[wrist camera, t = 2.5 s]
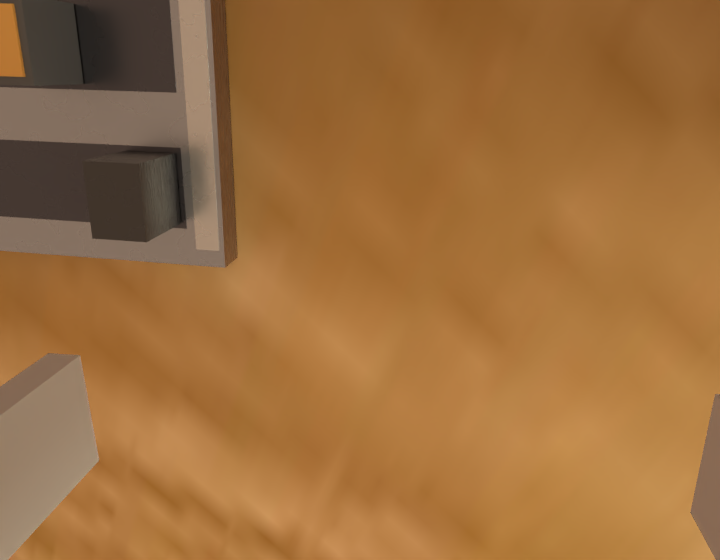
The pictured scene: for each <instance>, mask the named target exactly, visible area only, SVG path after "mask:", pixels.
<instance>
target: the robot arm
mask: <svg viewBox="0 0 720 560" xmlns="http://www.w3.org/2000/svg"><path fill="white" fill-rule="evenodd" d="M98 461H99V457H98V451H97V446H96V440H95V435H94V429H93V424H92V418H91V413H90V407H89V402H88V396H87V391H86V385H85V380H84V374H83V369H82V363H81V358H80V355H67V354H51V353H48V354H47V355H45V356H44V357H43V358H41V359H40V360H38V361H37V362H35V363H34V364H32V365H31V366H29V367H28V368H27V369H25V370H24V371H22V372H21V373H19V374H18V375H16V376H15V377H14V378H12V379H11V380H9V381H8V382H6V383H5V384H3V385H2V386H1V387H0V560H8V559H9V558H10V557H11V556H12V555H13V554H14V553H15V552H16V551H17V549H18V548H19V547H20V546H21V545H22V544H23V543H24V542H25V541H26V540H27V539H28V537H29V536H30V535H31V534H32V533H33V532H34V531H35V530H36V529H37V528H38V527H39V525H40V524H41V523H42V522H43V521H44V520H45V519H46V518H47V517H48V516H49V515H50V513H51V512H52V511H53V510H54V509H55V508H56V507H57V506H58V505H59V504H60V503H61V501H62V500H63V499H64V498H65V497H66V496H67V495H68V494H69V493H70V492H71V491H72V489H73V488H74V487H75V486H76V485H77V484H78V483H79V482H80V481H81V480H82V479H83V477H84V476H85V475H86V474H87V473H88V472H89V471H90V470H91V469H92V468H93V467H94V465H95V464H96V463H97V462H98ZM690 513H691V514H692V516H693V518H694V520H695V522H696V524H697V526H698V527H699V529H700V531H701V533H702V535H703V537H704V539H705V540H706V542H707V544H708V546H709V548H710V550H711V552H712V553H713V555H714V557H715V559H716V560H720V394H715V397H714V402H713V407H712V412H711V416H710V421H709V426H708V431H707V436H706V440H705V445H704V450H703V455H702V460H701V464H700V469H699V474H698V479H697V484H696V488H695V493H694V498H693V503H692V508H691V512H690Z"/></svg>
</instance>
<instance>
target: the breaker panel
mask: <svg viewBox="0 0 720 560" xmlns="http://www.w3.org/2000/svg"><path fill="white" fill-rule="evenodd" d="M56 1H61V2H67V3H73V4H74V12H75V20H76V28H77V36H78V44H79V52H80V60H81V68H82V76H83V84H72V85H43V86H24V85H0V251H13V252H26V253H39V254H53V255H66V256H79V257H92V258H105V259H118V260H132V261H145V262H158V263H171V264H184V265H197V266H211V267H224V268H225V267H227V266H228V265H229V264H230V263H231V262H233V261H234V260H235V259H236V258H237V241H236V220H235V200H234V179H233V158H232V138H231V117H230V96H229V75H228V55H227V34H226V13H225V0H56Z"/></svg>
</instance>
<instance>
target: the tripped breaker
mask: <svg viewBox="0 0 720 560" xmlns="http://www.w3.org/2000/svg"><path fill="white" fill-rule="evenodd" d="M72 84H83V76H82V68H81V60H80V52H79V44H78V36H77V28H76V20H75V12H74V4H73V3H67V2H61V1H56V0H0V85H24V86H43V85H72Z"/></svg>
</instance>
